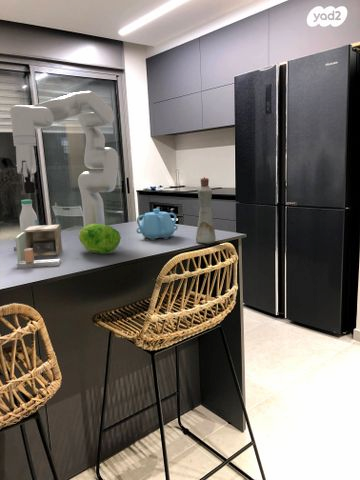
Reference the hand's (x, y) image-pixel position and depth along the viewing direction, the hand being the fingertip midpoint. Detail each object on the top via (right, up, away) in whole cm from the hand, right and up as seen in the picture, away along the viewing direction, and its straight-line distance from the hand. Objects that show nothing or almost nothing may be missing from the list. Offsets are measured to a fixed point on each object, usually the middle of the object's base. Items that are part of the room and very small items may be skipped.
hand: (30, 193), depth 143 cm
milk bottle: (-13, -19, +36) cm, 43 cm away
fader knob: (+2, -25, -5) cm, 25 cm away
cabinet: (0, -22, +16) cm, 27 cm away
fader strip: (+5, -26, -4) cm, 27 cm away
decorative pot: (+45, -16, +41) cm, 62 cm away
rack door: (-5, -25, +4) cm, 25 cm away
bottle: (+66, -18, +26) cm, 73 cm away
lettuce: (+23, -23, +12) cm, 34 cm away
